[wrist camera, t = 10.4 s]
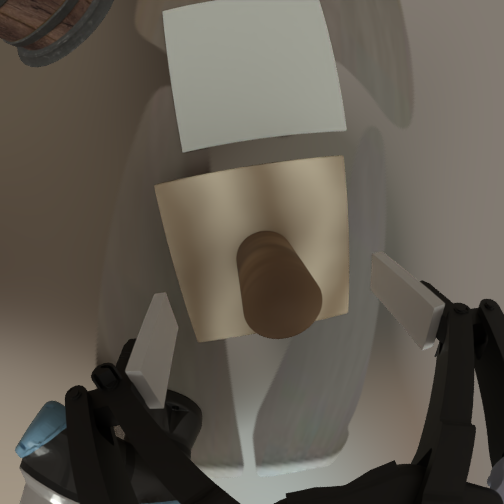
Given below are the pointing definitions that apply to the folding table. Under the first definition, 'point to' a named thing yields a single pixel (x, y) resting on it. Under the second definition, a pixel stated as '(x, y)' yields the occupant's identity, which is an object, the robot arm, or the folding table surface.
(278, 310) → the lid
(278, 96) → the mat
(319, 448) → the folding table surface
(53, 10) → the tankard
